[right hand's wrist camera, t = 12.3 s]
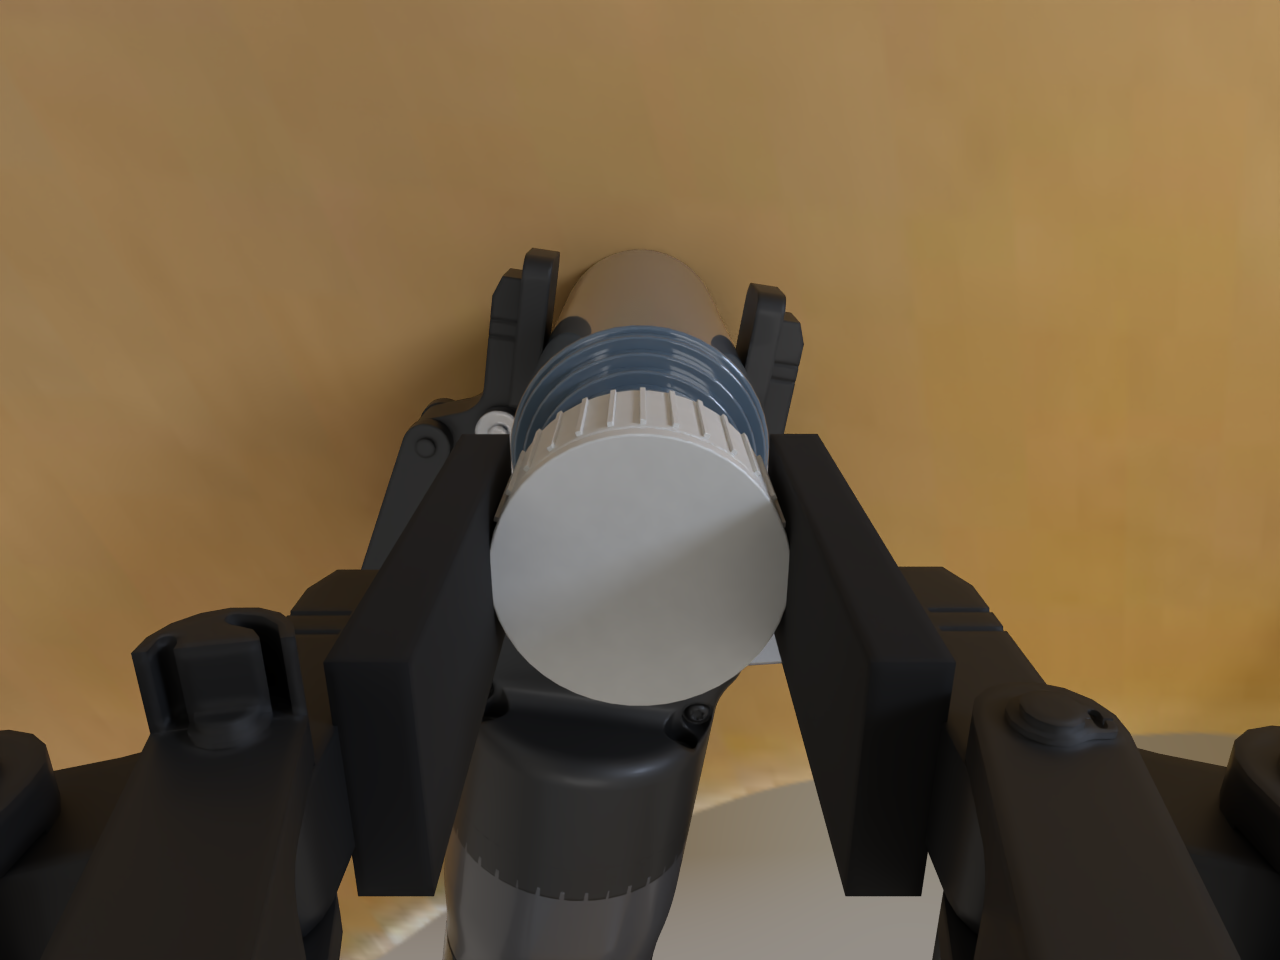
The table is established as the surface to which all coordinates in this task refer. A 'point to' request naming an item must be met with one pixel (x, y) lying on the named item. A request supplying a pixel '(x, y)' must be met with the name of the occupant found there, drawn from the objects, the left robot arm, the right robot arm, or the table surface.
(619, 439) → the cap
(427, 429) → the left robot arm
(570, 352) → the bottle
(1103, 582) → the table surface
